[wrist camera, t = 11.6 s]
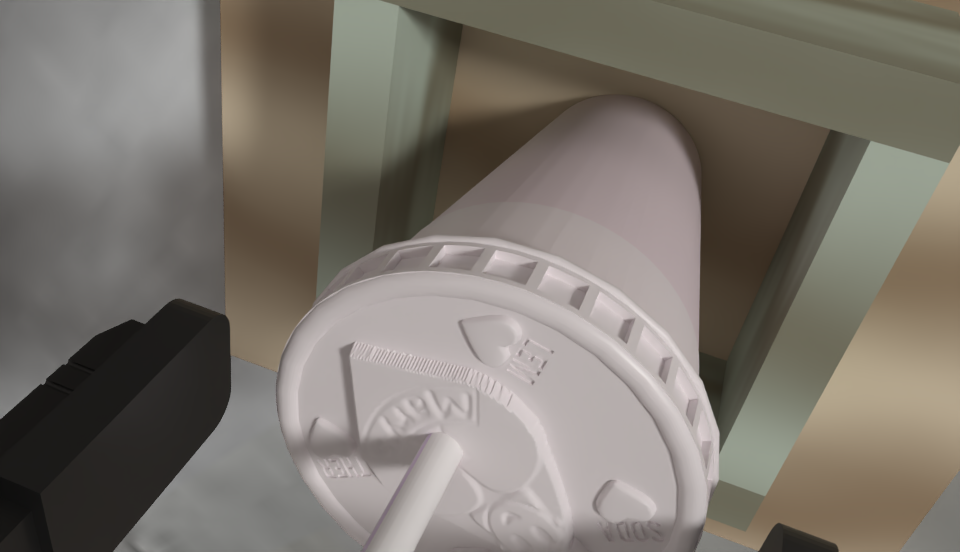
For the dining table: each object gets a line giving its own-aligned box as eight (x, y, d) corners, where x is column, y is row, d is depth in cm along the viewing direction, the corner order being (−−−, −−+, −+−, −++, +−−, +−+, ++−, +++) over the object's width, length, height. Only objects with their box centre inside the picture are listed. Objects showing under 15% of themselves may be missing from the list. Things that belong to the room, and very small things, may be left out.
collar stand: (255, -463, 17) (53, -518, 12) (1419, -237, 13) (1702, -202, 9) (251, 326, 29) (147, 439, 24) (867, 549, 25) (875, 727, 21)
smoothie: (637, -35, 17) (262, 434, 6) (830, 203, 18) (808, 954, 7) (431, 145, 21) (-31, 637, 10) (603, 333, 22) (362, 960, 11)
